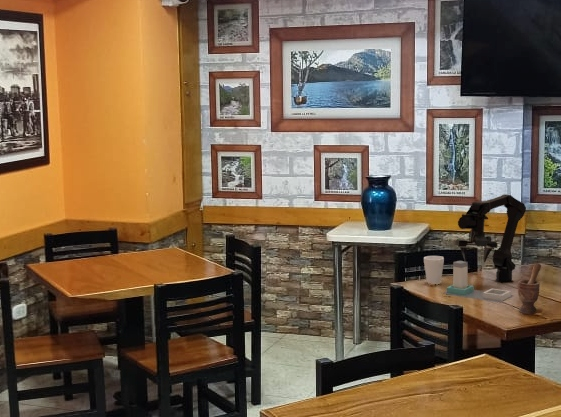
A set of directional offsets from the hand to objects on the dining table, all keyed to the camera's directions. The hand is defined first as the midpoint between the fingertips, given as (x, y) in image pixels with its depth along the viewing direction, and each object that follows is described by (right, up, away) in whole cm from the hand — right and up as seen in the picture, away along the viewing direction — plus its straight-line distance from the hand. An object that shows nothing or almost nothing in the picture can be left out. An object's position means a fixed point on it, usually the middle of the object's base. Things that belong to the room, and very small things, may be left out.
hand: (474, 261), depth 380 cm
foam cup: (-17, -12, +11) cm, 24 cm away
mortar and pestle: (+14, -19, -39) cm, 45 cm away
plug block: (-9, -13, -9) cm, 18 cm away
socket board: (-2, -15, -14) cm, 21 cm away
